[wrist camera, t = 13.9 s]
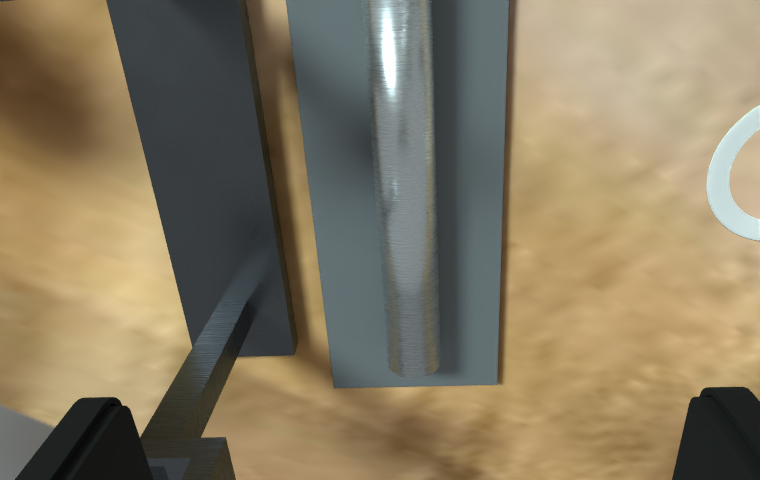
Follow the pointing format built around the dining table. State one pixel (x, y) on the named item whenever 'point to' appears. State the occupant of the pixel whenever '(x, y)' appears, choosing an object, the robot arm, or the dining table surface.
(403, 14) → the steel rail
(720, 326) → the dining table surface
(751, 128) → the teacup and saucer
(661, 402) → the dining table surface
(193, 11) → the hook stands
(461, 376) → the rubber mat
